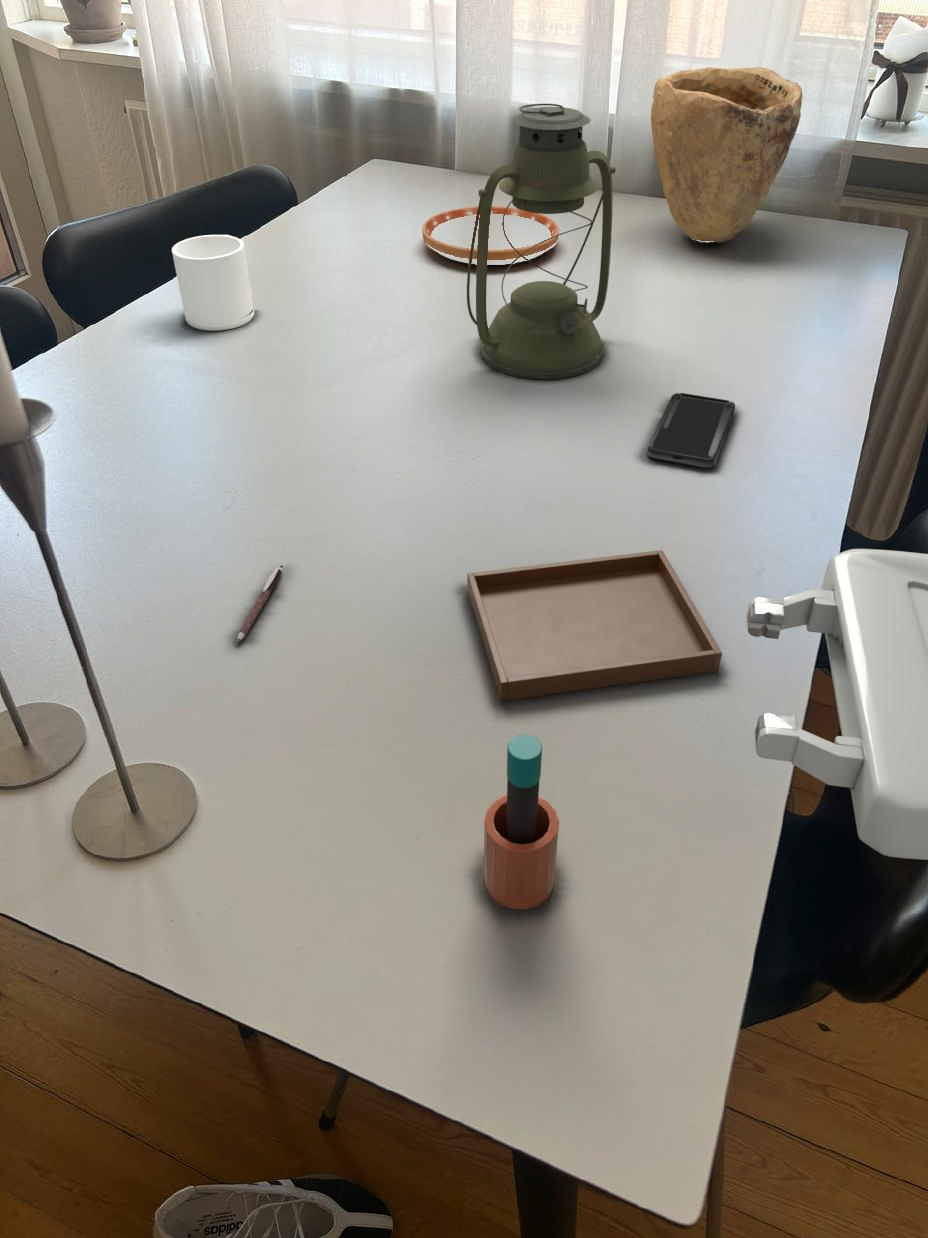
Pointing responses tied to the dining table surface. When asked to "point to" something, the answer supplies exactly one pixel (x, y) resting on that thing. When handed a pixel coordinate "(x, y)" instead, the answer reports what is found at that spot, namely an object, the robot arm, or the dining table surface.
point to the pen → (260, 602)
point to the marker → (523, 788)
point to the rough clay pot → (721, 144)
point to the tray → (588, 625)
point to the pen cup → (520, 858)
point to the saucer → (492, 254)
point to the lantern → (546, 184)
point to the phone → (691, 430)
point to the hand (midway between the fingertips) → (752, 671)
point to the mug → (213, 281)
